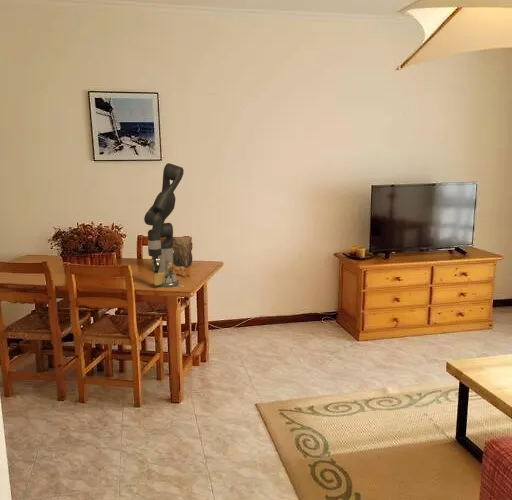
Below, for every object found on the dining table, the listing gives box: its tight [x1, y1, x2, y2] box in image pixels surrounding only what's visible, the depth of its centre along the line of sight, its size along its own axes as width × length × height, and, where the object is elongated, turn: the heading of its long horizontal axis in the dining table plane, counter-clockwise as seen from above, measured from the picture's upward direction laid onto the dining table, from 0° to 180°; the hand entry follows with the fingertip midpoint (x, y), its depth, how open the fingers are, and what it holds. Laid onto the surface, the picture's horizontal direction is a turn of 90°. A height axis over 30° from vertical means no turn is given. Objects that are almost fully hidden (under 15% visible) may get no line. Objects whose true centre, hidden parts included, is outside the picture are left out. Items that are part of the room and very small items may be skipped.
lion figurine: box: [167, 263, 190, 278], centre depth 313 cm, size 15×5×9 cm, turn 88°
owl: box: [173, 235, 193, 269], centre depth 342 cm, size 13×13×20 cm
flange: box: [158, 274, 180, 288], centre depth 295 cm, size 12×12×6 cm
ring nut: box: [153, 271, 178, 286], centre depth 292 cm, size 16×10×7 cm, turn 149°
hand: (156, 275), depth 290 cm, fingers closed
